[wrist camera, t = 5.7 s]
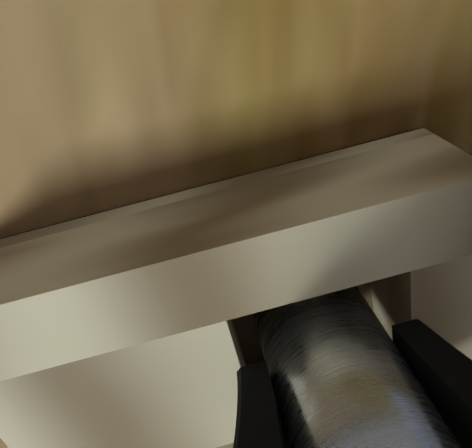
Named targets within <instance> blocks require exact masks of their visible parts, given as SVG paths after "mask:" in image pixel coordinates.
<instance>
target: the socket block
mask: <svg viewBox="0 0 472 448" xmlns="http://www.w3.org/2000/svg"><path fill="white" fill-rule="evenodd" d="M354 286H357V287H358V288H359V290H360V291H361V293H362V294H363V296H364V298H365V299H366V301H367V302H368V304H369V305H370V307H371V308H372V310H373V311H374V313H375V315H376V316H377V318H378V319H379V321H380V322H381V324H382V325H383V327H384V328H385V330H386V332H387V333H388V335H389V336H390V338H391V339H392V325H396V324H399V323H403V322H407V321H410V320H414V319H419V320H420V321H422V322H423V323H424V324H426V325H427V326H428V327H429V328H431V329H432V330H433V331H435V332H436V333H437V334H438V335H440V336H441V337H442V338H444V339H445V340H446V341H447V342H449V343H450V344H451V345H453V346H454V347H455V348H457V349H458V350H459V351H461V352H462V353H463V354H465V355H466V356H467V357H469V358H470V359H471V360H472V155H470V154H468V153H467V152H465V151H463V150H461V149H460V148H458V147H456V146H454V145H453V144H451V143H449V142H447V141H446V140H444V139H442V138H440V137H439V136H437V135H435V134H433V133H432V132H430V131H428V130H426V129H425V128H421V129H418V130H414V131H410V132H406V133H402V134H399V135H395V136H391V137H387V138H383V139H380V140H376V141H372V142H368V143H364V144H361V145H357V146H353V147H349V148H345V149H341V150H338V151H334V152H330V153H326V154H322V155H319V156H315V157H311V158H307V159H303V160H300V161H296V162H292V163H288V164H284V165H281V166H277V167H273V168H269V169H265V170H262V171H258V172H254V173H250V174H246V175H242V176H239V177H235V178H231V179H227V180H223V181H220V182H216V183H212V184H208V185H204V186H201V187H197V188H193V189H189V190H185V191H182V192H178V193H174V194H170V195H166V196H163V197H159V198H155V199H151V200H147V201H143V202H140V203H136V204H132V205H128V206H124V207H121V208H117V209H113V210H109V211H105V212H102V213H98V214H94V215H90V216H86V217H83V218H79V219H75V220H71V221H67V222H64V223H60V224H56V225H52V226H48V227H44V228H41V229H37V230H33V231H29V232H25V233H22V234H18V235H14V236H10V237H6V238H3V239H0V438H1V439H2V440H3V442H4V443H5V444H6V445H7V447H8V448H233V444H234V436H235V428H236V415H237V394H238V391H237V371H238V370H239V369H240V367H244V366H248V365H251V364H255V363H258V362H262V361H265V360H264V356H263V352H262V348H261V345H260V341H259V337H258V333H257V330H256V326H255V322H254V318H253V313H257V312H261V311H264V310H268V309H272V308H276V307H279V306H283V305H287V304H290V303H294V302H298V301H302V300H305V299H309V298H313V297H317V296H320V295H324V294H328V293H331V292H335V291H339V290H343V289H346V288H350V287H354ZM392 341H393V340H392Z"/></svg>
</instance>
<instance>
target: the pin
mask: <svg viewBox="0 0 472 448" xmlns="http://www.w3.org/2000/svg"><path fill="white" fill-rule="evenodd" d="M253 318H254V322H255V326H256V330H257V333H258V337H259V341H260V345H261V348H262V352H263V356H264V360H265V361H266V364H267V367H268V371H269V375H270V378H271V382H272V386H273V389H274V393H275V397H276V401H277V404H278V408H279V412H280V416H281V421H282V426H283V431H284V435H285V439H286V442H287V446H288V448H462V447H461V446H460V444H459V443H458V441H457V440H456V438H455V437H454V435H453V433H452V432H451V430H450V429H449V427H448V426H447V424H446V423H445V421H444V420H443V418H442V416H441V415H440V413H439V412H438V410H437V409H436V407H435V406H434V404H433V403H432V401H431V399H430V398H429V396H428V395H427V393H426V392H425V390H424V389H423V387H422V386H421V384H420V382H419V381H418V379H417V378H416V376H415V375H414V373H413V372H412V370H411V369H410V367H409V365H408V364H407V362H406V361H405V359H404V358H403V356H402V355H401V353H400V352H399V350H398V348H397V347H396V345H395V344H394V342H393V341H392V339H391V338H390V336H389V335H388V333H387V332H386V330H385V328H384V327H383V325H382V324H381V322H380V321H379V319H378V318H377V316H376V315H375V313H374V311H373V310H372V308H371V307H370V305H369V304H368V302H367V301H366V299H365V298H364V296H363V294H362V293H361V291H360V290H359V288H358V287H357V286H354V287H350V288H346V289H343V290H339V291H335V292H331V293H328V294H324V295H320V296H317V297H313V298H309V299H305V300H302V301H298V302H294V303H290V304H287V305H283V306H279V307H276V308H272V309H268V310H264V311H261V312H257V313H253Z"/></svg>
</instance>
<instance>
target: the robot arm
mask: <svg viewBox="0 0 472 448" xmlns="http://www.w3.org/2000/svg"><path fill="white" fill-rule="evenodd" d="M392 340H393V342H394V344H395V345H396V347H397V348H398V350H399V352H400V353H401V355H402V356H403V358H404V359H405V361H406V362H407V364H408V365H409V367H410V369H411V370H412V372H413V373H414V375H415V376H416V378H417V379H418V381H419V382H420V384H421V386H422V387H423V389H424V390H425V392H426V393H427V395H428V396H429V398H430V399H431V401H432V403H433V404H434V406H435V407H436V409H437V410H438V412H439V413H440V415H441V416H442V418H443V420H444V421H445V423H446V424H447V426H448V427H449V429H450V430H451V432H452V433H453V435H454V437H455V438H456V440H457V441H458V443H459V444H460V446H461V447H462V448H472V360H471V359H470V358H469V357H467V356H466V355H465V354H463V353H462V352H461V351H459V350H458V349H457V348H455V347H454V346H453V345H451V344H450V343H449V342H447V341H446V340H445V339H444V338H442V337H441V336H440V335H438V334H437V333H436V332H435V331H433V330H432V329H431V328H429V327H428V326H427V325H426V324H424V323H423V322H422V321H420V320H419V319H414V320H410V321H407V322H403V323H399V324H396V325H392ZM237 391H238V394H237V415H236V428H235V436H234V444H233V448H288V446H287V442H286V439H285V435H284V431H283V426H282V421H281V416H280V412H279V408H278V404H277V401H276V397H275V393H274V389H273V386H272V382H271V378H270V375H269V371H268V367H267V364H266V361H262V362H258V363H255V364H251V365H248V366H244V367H240V369H239V370H238V371H237Z"/></svg>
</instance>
